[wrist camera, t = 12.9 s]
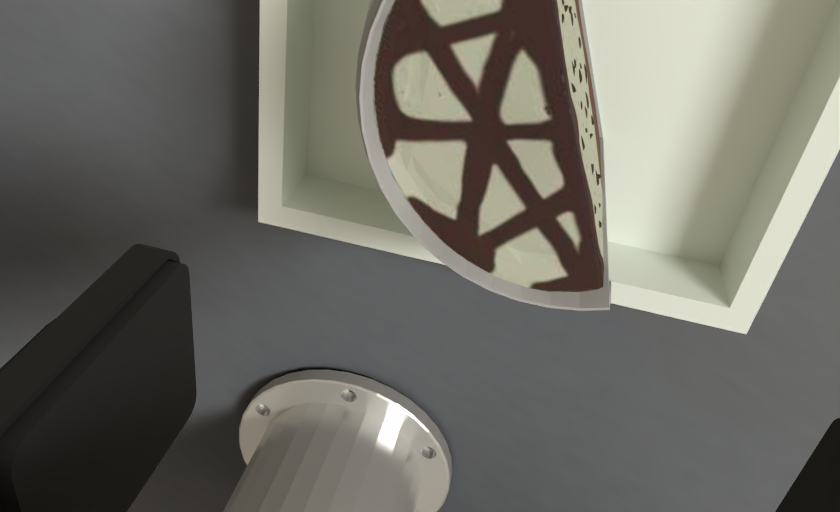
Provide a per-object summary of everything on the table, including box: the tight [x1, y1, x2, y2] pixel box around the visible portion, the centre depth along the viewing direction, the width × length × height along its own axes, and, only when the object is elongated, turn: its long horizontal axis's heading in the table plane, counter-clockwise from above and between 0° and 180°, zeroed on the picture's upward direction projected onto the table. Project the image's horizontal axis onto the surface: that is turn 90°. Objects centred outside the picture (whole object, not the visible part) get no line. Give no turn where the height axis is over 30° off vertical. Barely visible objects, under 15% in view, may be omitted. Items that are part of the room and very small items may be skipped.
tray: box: [258, 0, 840, 334], centre depth 26 cm, size 18×20×4 cm
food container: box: [355, 0, 612, 311], centre depth 23 cm, size 12×6×10 cm, turn 16°
